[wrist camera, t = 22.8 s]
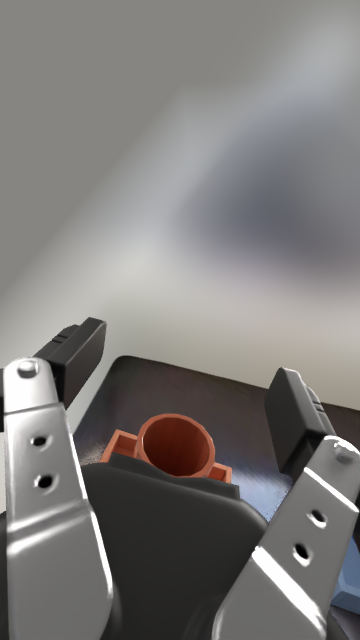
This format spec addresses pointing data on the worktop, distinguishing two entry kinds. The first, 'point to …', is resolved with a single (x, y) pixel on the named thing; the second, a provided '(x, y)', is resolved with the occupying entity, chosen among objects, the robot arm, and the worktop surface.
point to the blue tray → (349, 581)
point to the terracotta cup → (176, 446)
